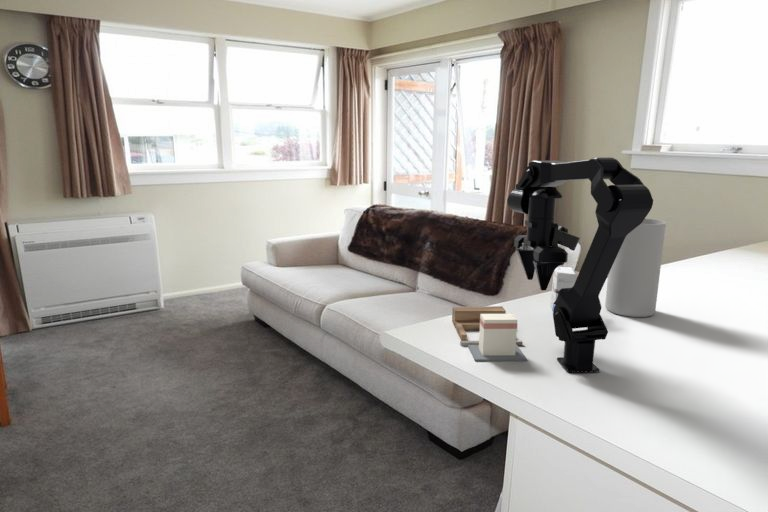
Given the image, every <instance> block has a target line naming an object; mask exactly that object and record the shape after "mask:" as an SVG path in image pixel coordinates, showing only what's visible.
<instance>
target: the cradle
mask: <svg viewBox="0 0 768 512" xmlns="http://www.w3.org/2000/svg"><path fill="white" fill-rule="evenodd" d="M506 310H507V309H505V308H504V307H503V306H501V305H500V306H498V305H497V306H495V305H493V306H489V305H488V306H480V305H479V306H452V311H451V312H452V314H451V322H452V324H453V326H454V328H455V331H456V333H457V334H458V337H459V339H460V341H459V342H460V346H461V347H468V345H479V340H467V336H468V335H467V331H480V314H507V311H506ZM523 343H524V342H523V341H522V340H520V339H518V340H517V339H516V345H517V346H523Z"/></svg>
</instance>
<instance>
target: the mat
mask: <svg viewBox="0 0 768 512" xmlns="http://www.w3.org/2000/svg"><path fill="white" fill-rule="evenodd" d="M467 347H468V350H469V351H470V353H471V355H472V358H473V360H474V362H508V361H509V362H513V361H514V362H522V361H523V362H527V361H528V358H527V356H526V355H525V354H524V353H523V351H522V350H521V349H520V347H519V345H516V351H515V355H487V356H483V355H482V353H481V351H480V350H479V345H468V346H467Z"/></svg>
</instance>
